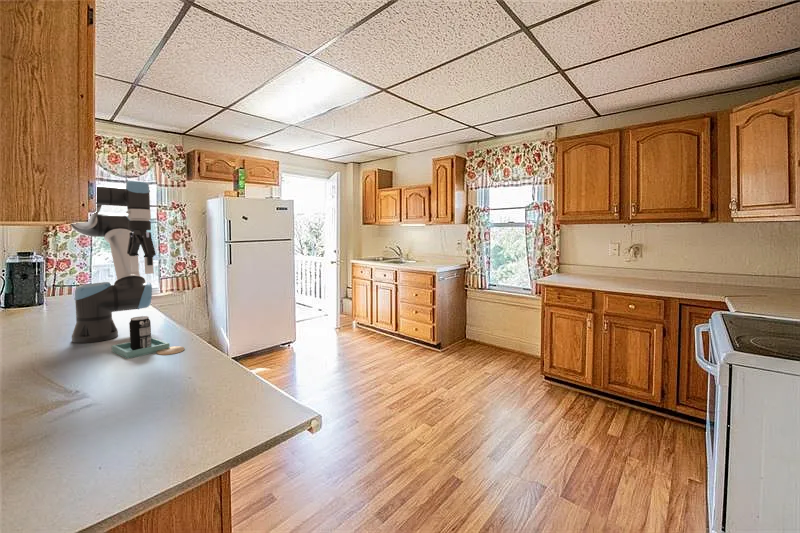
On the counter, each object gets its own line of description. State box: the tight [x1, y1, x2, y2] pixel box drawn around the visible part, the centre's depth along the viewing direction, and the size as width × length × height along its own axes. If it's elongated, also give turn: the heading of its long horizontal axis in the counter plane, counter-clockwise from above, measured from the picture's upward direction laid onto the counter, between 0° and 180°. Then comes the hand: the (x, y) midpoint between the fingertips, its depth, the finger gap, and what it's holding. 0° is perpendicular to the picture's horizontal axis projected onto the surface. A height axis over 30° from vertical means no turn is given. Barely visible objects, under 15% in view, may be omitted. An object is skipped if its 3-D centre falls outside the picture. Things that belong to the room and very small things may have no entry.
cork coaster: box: [155, 345, 185, 356], centre depth 140 cm, size 9×9×1 cm
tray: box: [111, 337, 171, 359], centre depth 140 cm, size 14×14×2 cm
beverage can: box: [128, 315, 152, 350], centre depth 140 cm, size 7×7×12 cm
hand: (141, 272), depth 150 cm, fingers open, 13 cm apart
